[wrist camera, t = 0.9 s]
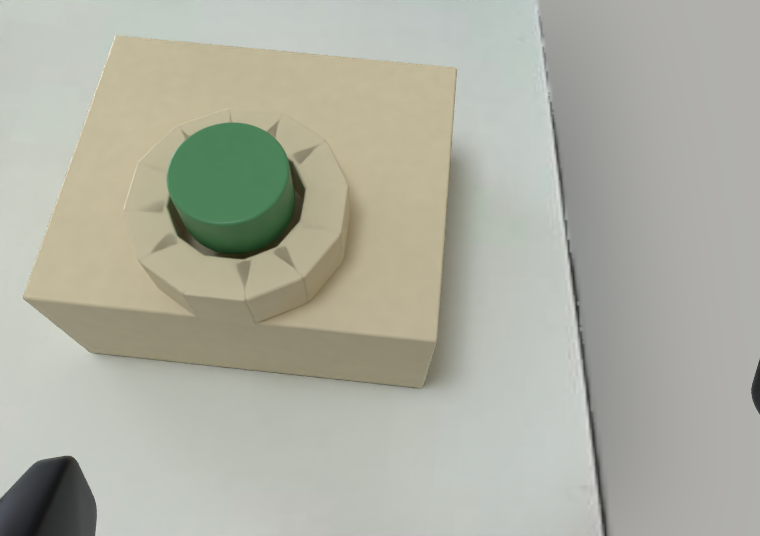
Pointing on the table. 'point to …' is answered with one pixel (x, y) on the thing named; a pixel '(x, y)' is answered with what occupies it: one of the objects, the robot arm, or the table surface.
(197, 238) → the power button
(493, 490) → the table surface
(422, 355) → the box
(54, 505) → the robot arm
